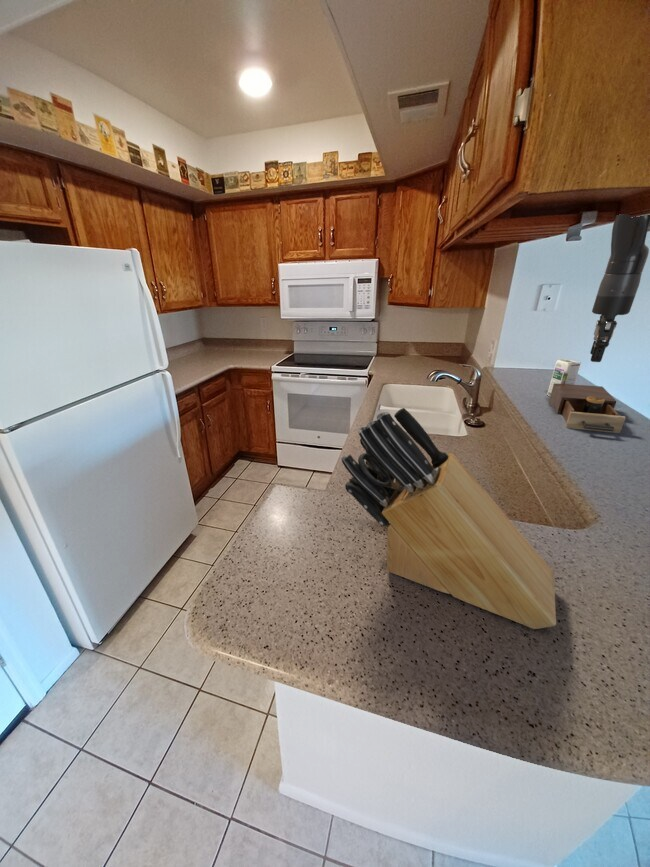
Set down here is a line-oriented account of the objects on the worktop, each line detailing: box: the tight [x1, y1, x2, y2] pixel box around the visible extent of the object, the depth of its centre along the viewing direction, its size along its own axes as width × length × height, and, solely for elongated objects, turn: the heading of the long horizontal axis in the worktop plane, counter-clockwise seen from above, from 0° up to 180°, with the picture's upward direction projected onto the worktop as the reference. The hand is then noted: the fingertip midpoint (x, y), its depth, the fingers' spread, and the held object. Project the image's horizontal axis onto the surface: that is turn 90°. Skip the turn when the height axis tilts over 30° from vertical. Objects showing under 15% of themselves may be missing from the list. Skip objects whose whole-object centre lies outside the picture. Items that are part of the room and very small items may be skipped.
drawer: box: [560, 400, 627, 434], centre depth 104 cm, size 18×14×6 cm
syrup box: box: [546, 358, 582, 397], centre depth 127 cm, size 6×6×14 cm
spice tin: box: [583, 396, 605, 414], centre depth 104 cm, size 4×4×8 cm
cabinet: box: [548, 383, 617, 415], centre depth 115 cm, size 15×15×8 cm
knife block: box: [340, 407, 557, 630], centre depth 54 cm, size 11×35×31 cm, turn 60°
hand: (594, 357), depth 89 cm, fingers open, 8 cm apart
